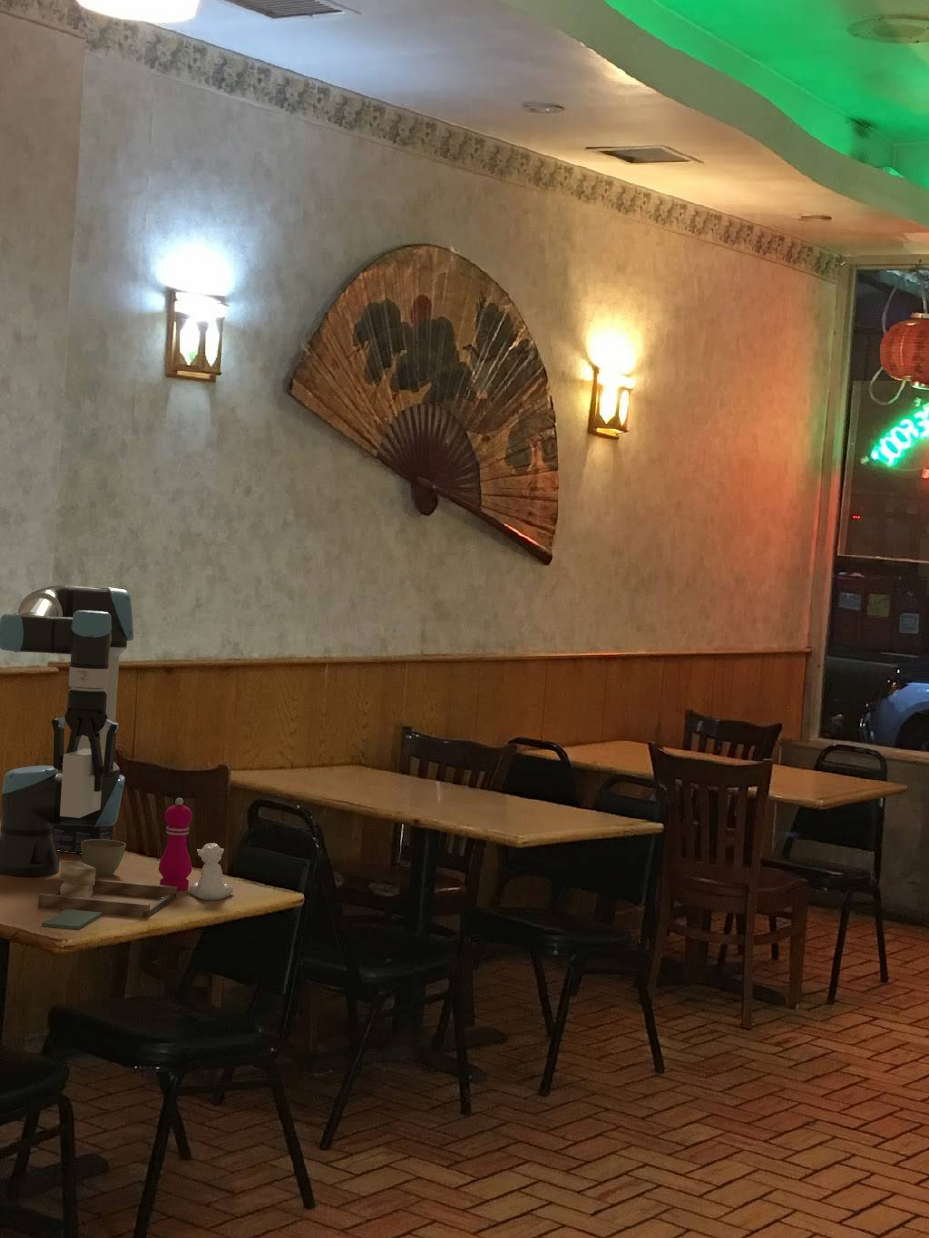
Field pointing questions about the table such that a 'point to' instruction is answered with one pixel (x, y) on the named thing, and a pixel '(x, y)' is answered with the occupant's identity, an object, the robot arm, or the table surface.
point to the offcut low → (76, 890)
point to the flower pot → (103, 855)
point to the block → (77, 784)
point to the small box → (78, 836)
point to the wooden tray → (113, 905)
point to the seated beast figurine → (211, 875)
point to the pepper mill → (176, 847)
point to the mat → (72, 919)
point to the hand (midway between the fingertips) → (80, 806)
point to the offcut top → (77, 873)
